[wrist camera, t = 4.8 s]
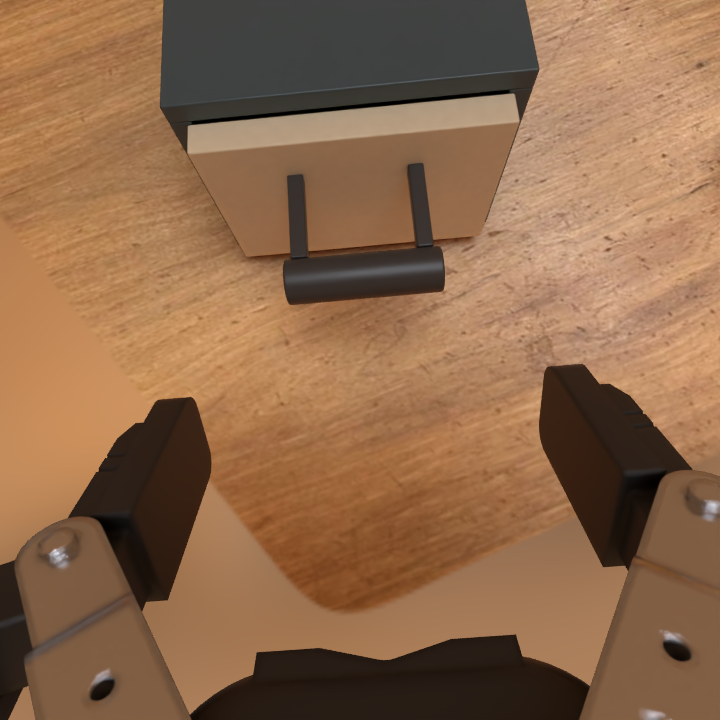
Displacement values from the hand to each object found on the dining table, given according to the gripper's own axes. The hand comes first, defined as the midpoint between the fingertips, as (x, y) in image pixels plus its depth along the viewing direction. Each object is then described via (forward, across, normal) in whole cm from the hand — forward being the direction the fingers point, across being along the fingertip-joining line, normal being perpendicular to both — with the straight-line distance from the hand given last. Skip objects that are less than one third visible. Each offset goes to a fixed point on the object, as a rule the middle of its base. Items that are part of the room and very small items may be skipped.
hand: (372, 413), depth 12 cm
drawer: (+18, 0, +2) cm, 18 cm away
